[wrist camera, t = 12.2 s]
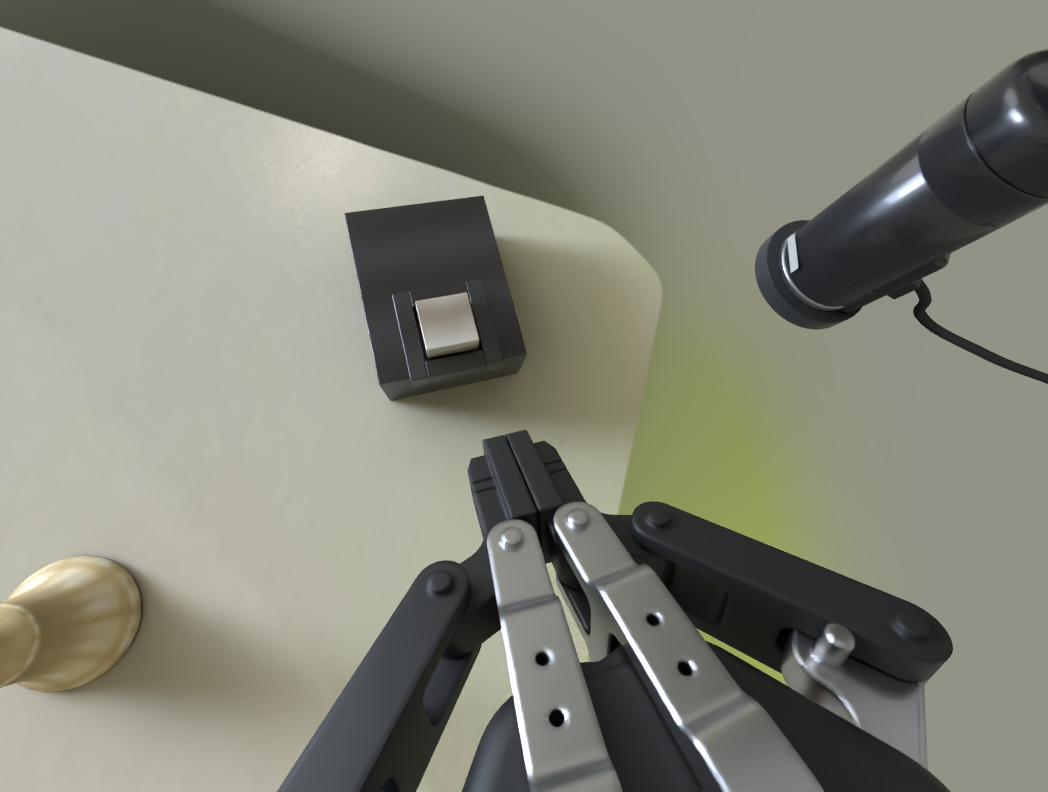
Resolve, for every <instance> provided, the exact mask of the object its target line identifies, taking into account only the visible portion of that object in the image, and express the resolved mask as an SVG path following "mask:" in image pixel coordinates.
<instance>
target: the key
mask: <svg viewBox="0 0 1048 792" xmlns="http://www.w3.org/2000/svg"><path fill="white" fill-rule="evenodd" d="M415 304H416V308H417V313H418V317H419V322H420V326H421V331H422V335H423V339H424V344H425V348H426V352H427V357H428V358H433V357H438V356H443V355H448V354H453V353H458V352H463V351H468V350H473V349H478V345H479V336H478V332H477V328H476V324H475V321H474V317H473V313H472V309H471V305H470V301H469V297H468V293H461V294H455V295H449V296H443V297H437V298H431V299H426V300H420V301H416V302H415Z"/></svg>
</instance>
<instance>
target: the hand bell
mask: <svg viewBox="0 0 1048 792" xmlns="http://www.w3.org/2000/svg"><path fill="white" fill-rule="evenodd" d="M140 616H141V598H140V594H139V590H138V587H137V586H136V583H135V581H134V579H133V578H132V576H131V575H130V574H129V573H128V572H127V571H126V570H125V569H124V568H122V567H121V566H120V565H118V564H117V563H115V562H113V561H111V560H108V559H105V558H101V557H96V556H77V557H70V558H66V559H62V560H59V561H57V562H54V563H51V564H49V565H47V566H46V567H44V568H42V569H40V570H39V571H37V572H35V573H34V574H33V575H31V576H30V577H29V578H27V579H26V580H25V581H24V582H23V583H22V584H20V585H19V587H18V588H17V589H16V590H15V591H14V592H13V593H12V594H11V596H10V597H9V598H8V600H6V601H3V602H1V603H0V688H1V687H4V686H7V685H11V684H14V683H16V684H18V685H20V686H22V687H25V688H28V689H31V690H36V691H44V692H57V691H65V690H69V689H73V688H77V687H80V686H82V685H84V684H87V683H89V682H91V681H93V680H94V679H96V678H98V677H99V676H101V675H103V674H104V673H105V672H106V671H108V670H109V669H110V668H111V667H112V666H113V665H114V664H115V663H116V662H117V661H118V660H119V659H120V658H121V657H122V656H123V654H124V653H125V652H126V650H127V649H128V648H129V646H130V644H131V643H132V641H133V639H134V637H135V634H136V632H137V630H138V626H139V622H140Z"/></svg>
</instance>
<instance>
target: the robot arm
mask: <svg viewBox="0 0 1048 792" xmlns="http://www.w3.org/2000/svg"><path fill="white" fill-rule="evenodd" d="M1047 204H1048V49H1045V50H1040V51H1035V52H1032V53H1029V54H1026V55H1024V56H1022V57H1021V58H1019V59H1017V60H1015V61H1013V62H1012V63H1010V64H1009V65H1007V66H1006V67H1005V68H1003V69H1002V70H1001V71H999V72H998V73H997V74H996V75H994V76H993V77H992V78H991V79H989V80H988V81H987V82H986V83H984V84H983V85H981V86H980V87H979V88H978V89H976V90H975V91H974V92H973V93H972V94H970V95H969V96H968V97H967V98H966V99H964V100H963V101H962V102H960V103H959V104H958V105H956V106H955V107H954V108H953V109H951V110H950V111H949V112H948V113H946V114H945V115H944V116H943V117H942V118H940V119H939V120H938V121H936V122H935V123H934V124H932V125H931V126H930V127H929V128H928V129H926V130H925V131H924V132H922V133H921V134H920V135H919V136H917V137H916V138H915V139H913V140H912V141H911V142H910V143H908V144H907V145H906V146H905V147H903V148H902V149H901V150H900V151H898V152H897V153H896V154H894V155H893V156H892V157H891V158H890V159H888V160H887V161H886V162H884V163H883V164H882V165H881V166H879V167H878V168H877V169H875V170H874V171H873V172H872V173H870V174H869V175H868V176H866V177H865V178H864V179H863V180H861V181H860V182H859V183H858V184H856V185H855V186H854V187H852V188H851V189H850V190H849V191H847V192H846V193H845V194H844V195H842V196H841V197H840V198H838V199H837V200H836V201H835V202H833V203H832V204H831V205H830V206H828V207H827V208H826V209H824V210H823V211H822V212H821V213H819V214H818V215H817V216H816V217H814V218H813V219H812V220H810V221H809V222H808V223H806V224H805V225H803V226H802V227H801V228H800V229H798V230H796V231H795V232H794V233H792V234H791V235H790V236H789V237H788V238H786V240H785V241H784V242H783V244H782V246H781V248H780V251H779V257H778V263H779V270H780V273H781V276H782V278H783V280H784V282H785V284H786V286H787V287H788V288H789V290H790V291H791V292H792V293H793V294H794V295H795V296H796V297H797V298H798V299H799V300H800V301H802V302H803V303H805V304H806V305H808V306H810V307H813V308H815V309H818V310H823V311H835V310H841V311H843V312H845V313H850V312H852V311H854V310H856V309H858V308H860V307H862V306H864V305H867V304H869V303H871V302H873V301H875V300H877V299H879V298H881V297H883V296H886V295H888V296H889V297H891V298H893V299H896V298H898V297H900V296H903V295H905V294H907V293H909V292H911V291H914V290H915V292H916V293H917V295H918V297H919V302H918V304H917V305H916V306H915V307H914V310H913V312H914V316H915V317H916V319H917V320H918V321H919V322H920V323H921V325H923V326H924V327H925V328H926V329H928V330H929V331H930V332H932V333H934V334H935V335H937V336H939V337H940V338H942V339H944V340H946V341H948V342H950V343H952V344H954V345H956V346H958V347H961V348H963V349H965V350H967V351H969V352H971V353H973V354H975V355H977V356H979V357H981V358H983V359H985V360H987V361H989V362H992V363H994V364H996V365H999V366H1001V367H1003V368H1006V369H1008V370H1011V371H1014V372H1016V373H1019V374H1022V375H1025V376H1028V377H1031V378H1033V379H1036V380H1039V381H1042V382H1044V383H1047V384H1048V374H1046V373H1043V372H1040V371H1037V370H1035V369H1032V368H1029V367H1026V366H1024V365H1021V364H1018V363H1015V362H1013V361H1011V360H1008V359H1006V358H1003V357H1002V356H999V355H997V354H995V353H993V352H990V351H989V350H987V349H985V348H983V347H981V346H979V345H977V344H975V343H972V342H970V341H968V340H966V339H964V338H962V337H960V336H958V335H955V334H954V333H952V332H950V331H948V330H946V329H945V328H943V327H941V326H940V325H938V324H937V323H936V322H934V321H933V320H932V319H931V318H930V317H929V316H928V315H927V313H926V312H925V309H926V308H927V307H928V306H929V305H930V303H931V294H930V291H929V289H928V287H927V286H926V284H925V283H924V282H923V280H922V278H923V277H925V276H927V275H929V274H932V273H934V272H936V271H938V270H940V269H942V268H944V267H945V266H946V265H947V264H948V261H949V258H950V254H951V253H952V252H954V251H956V250H958V249H960V248H962V247H964V246H966V245H968V244H970V243H972V242H974V241H976V240H978V239H980V238H981V237H984V236H986V235H988V234H989V233H992V232H994V231H996V230H997V229H1000V228H1002V227H1004V226H1006V225H1007V224H1009V223H1012V222H1013V221H1015V220H1017V219H1019V218H1021V217H1023V216H1025V215H1027V214H1029V213H1031V212H1033V211H1035V210H1037V209H1039V208H1041V207H1043V206H1045V205H1047ZM483 449H484V456H480V457H476V458H472V459H471V461H470V464H469V468H468V475H469V480H470V486H471V491H472V496H473V502H474V506H475V509H476V513H477V517H478V521H479V524H480V528H481V532H482V536H483V542H482V545H481V546H480V548H479V549H478V550H477V552H476V553H475V554H473V555H472V556H471V557H469V558H468V559H466V560H465V561H463V562H462V563H460V564H459V563H456V562H454V561H446V560H445V561H439V562H435V563H433V564H431V565H429V566H427V567H426V568H425V569H424V570H423V571H422V572H421V573H420V574H419V575H418V576H417V578H416V580H415V581H414V583H413V584H412V586H411V587H410V589H409V590H408V592H407V593H406V595H405V596H404V598H403V599H402V601H401V602H400V604H399V606H398V607H397V609H396V610H395V612H394V613H393V615H392V616H391V618H390V619H389V621H388V622H387V624H386V625H385V627H384V629H383V630H382V632H381V633H380V635H379V636H378V638H377V639H376V641H375V642H374V644H373V645H372V647H371V648H370V650H369V651H368V653H367V655H366V656H365V658H364V659H363V661H362V662H361V664H360V665H359V667H358V668H357V670H356V671H355V673H354V674H353V676H352V677H351V679H350V681H349V682H348V684H347V685H346V687H345V688H344V690H343V691H342V693H341V694H340V696H339V697H338V699H337V700H336V702H335V703H334V705H333V707H332V708H331V710H330V711H329V713H328V714H327V716H326V717H325V719H324V720H323V722H322V723H321V725H320V726H319V728H318V730H317V731H316V733H315V734H314V736H313V737H312V739H311V740H310V742H309V743H308V745H307V746H306V748H305V749H304V751H303V752H302V754H301V756H300V757H299V759H298V760H297V762H296V763H295V765H294V766H293V768H292V769H291V771H290V772H289V774H288V775H287V777H286V778H285V780H284V782H283V783H282V785H281V786H280V788H279V789H278V791H277V792H416V790H417V788H418V786H419V784H420V782H421V779H422V777H423V775H424V773H425V771H426V768H427V766H428V764H429V762H430V759H431V757H432V755H433V753H434V751H435V748H436V746H437V744H438V742H439V740H440V737H441V735H442V733H443V731H444V729H445V726H446V724H447V722H448V720H449V717H450V715H451V713H452V711H453V709H454V706H455V704H456V702H457V700H458V698H459V695H460V693H461V691H462V689H463V687H464V684H465V682H466V680H467V678H468V676H469V673H470V671H471V669H472V667H473V664H474V662H475V660H476V658H477V656H478V653H479V651H480V648H481V645H482V643H483V642H484V641H486V640H487V639H488V638H490V637H491V636H492V635H493V634H495V633H496V632H497V631H499V630H500V629H501V628H502V634H503V640H504V646H505V651H506V657H507V663H508V668H509V674H510V680H511V686H512V691H513V695H512V696H511V697H510V698H509V699H508V700H507V701H506V702H505V703H504V704H503V705H502V706H501V707H500V708H499V709H498V711H497V712H496V713H495V714H494V716H493V717H492V719H491V720H490V722H489V724H488V725H487V727H486V729H485V731H484V733H483V735H482V737H481V740H480V742H479V745H478V748H477V751H476V753H475V756H474V759H473V762H472V765H471V768H470V770H469V773H468V776H467V779H466V782H465V784H464V787H463V790H462V792H950V791H949V790H948V789H947V788H946V786H944V785H943V783H941V782H940V781H939V780H938V779H937V778H936V777H935V776H934V775H933V774H931V773H930V772H929V771H928V766H927V742H926V718H925V717H926V716H925V691H924V685H925V683H926V682H927V681H928V680H929V679H930V678H931V677H932V676H933V674H935V672H936V671H937V670H938V669H939V668H940V667H941V666H942V665H943V664H944V663H945V662H946V661H947V659H948V658H949V657H950V656H951V654H952V651H953V645H952V641H951V638H950V636H949V634H948V633H947V631H946V630H945V628H944V627H943V626H942V625H941V624H940V623H939V622H938V621H937V620H936V619H935V618H934V617H933V616H932V615H930V614H929V613H928V612H926V611H925V610H923V609H922V608H920V607H918V606H917V605H915V604H912V603H910V602H908V601H905V600H903V599H900V598H898V597H895V596H893V595H890V594H888V593H885V592H883V591H881V590H878V589H875V588H873V587H870V586H868V585H866V584H863V583H861V582H858V581H856V580H853V579H851V578H848V577H846V576H843V575H841V574H838V573H836V572H834V571H831V570H829V569H826V568H824V567H821V566H819V565H816V564H814V563H811V562H809V561H806V560H804V559H801V558H799V557H796V556H794V555H791V554H789V553H787V552H784V551H782V550H779V549H776V548H774V547H772V546H769V545H766V544H764V543H762V542H759V541H757V540H754V539H752V538H749V537H747V536H744V535H742V534H739V533H737V532H735V531H732V530H730V529H727V528H725V527H722V526H720V525H717V524H715V523H712V522H710V521H707V520H704V519H702V518H700V517H697V516H694V515H692V514H690V513H687V512H685V511H683V510H680V509H677V508H675V507H673V506H670V505H668V504H665V503H662V502H645V503H642V504H640V505H639V506H638V507H636V508H635V510H634V512H633V515H608V514H604V513H601V512H599V511H598V510H597V509H596V508H595V507H594V506H592V505H590V504H588V503H586V501H585V500H584V498H583V496H582V494H581V493H580V491H579V489H578V487H577V486H576V484H575V482H574V480H573V479H572V477H571V475H570V473H569V472H568V470H567V469H566V466H565V465H564V463H563V461H562V460H561V457H560V456H559V454H558V452H557V450H556V449H555V448H554V447H553V446H551V445H550V444H548V443H547V442H545V441H541V442H537V443H533V442H532V440H531V438H530V436H529V434H528V432H527V430H523V431H518V432H514V433H510V434H506V435H505V436H504V435H502V436H498V437H494V438H489V439H485V440H483ZM550 562H552V564H553V566H554V568H555V571H556V581H557V585H558V588H559V590H560V592H561V594H562V596H563V598H564V600H565V602H566V604H567V606H568V608H569V610H570V612H571V614H572V616H573V618H574V620H575V622H576V624H577V626H578V628H579V630H580V632H581V634H582V636H583V638H584V640H585V643H586V645H587V648H588V651H589V655H590V659H591V662H583V663H580V662H579V659H578V656H577V652H576V649H575V646H574V643H573V639H572V636H571V633H570V630H569V626H568V623H567V620H566V617H565V614H564V610H563V607H562V604H561V601H560V599H559V597H558V596H556V595H555V593H554V590H553V587H552V583H551V580H550V577H549V573H548V570H547V567H546V563H550ZM695 627H696V628H698V629H699V630H701V631H703V632H705V633H707V634H709V635H711V636H712V637H714V638H716V639H718V640H720V641H722V642H724V643H726V644H727V645H729V646H731V647H733V648H735V649H737V650H738V651H740V652H742V653H744V654H746V655H748V656H750V657H752V658H753V659H755V660H757V661H759V662H761V663H763V664H765V665H767V666H768V667H770V668H772V669H774V670H776V671H778V672H780V673H781V674H782V675H783V677H784V680H785V682H786V683H787V685H788V686H789V687H788V686H786V685H784V684H783V683H781V682H779V681H778V680H776V679H774V678H773V677H771V676H769V675H767V674H766V673H764V672H762V671H760V670H759V669H757V668H755V667H754V666H752V665H750V664H748V663H747V662H745V661H743V660H742V659H740V658H738V657H736V656H735V655H733V654H731V653H729V652H728V651H726V650H724V649H722V648H721V647H719V646H717V645H714V644H712V643H710V642H707V641H705V640H704V639H703V637H702V636H701V634H700V633H699V632H698V630H697V629H696V628H695Z"/></svg>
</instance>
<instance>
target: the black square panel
mask: <svg viewBox="0 0 1048 792" xmlns="http://www.w3.org/2000/svg"><path fill="white" fill-rule="evenodd" d="M345 219H346V224H347V229H348V234H349V239H350V244H351V249H352V254H353V259H354V263H355V268H356V273H357V278H358V283H359V288H360V293H361V298H362V303H363V308H364V313H365V318H366V322H367V327H368V332H369V337H370V342H371V347H372V352H373V357H374V362H375V367H376V372H377V377H378V381H379V385H380V386H381V388H382V389H383V391H384V392H385V394H386V395H387V397H388V398H389V400H390V401H391V400H396V399H400V398H405V397H410V396H414V395H419V394H423V393H428V392H433V391H437V390H442V389H447V388H451V387H456V386H461V385H465V384H470V383H475V382H479V381H484V380H489V379H493V378H498V377H502V376H507V375H512V374H516V373H518V371H519V369H520V367H521V365H522V363H523V361H524V359H525V357H526V355H527V352H526V349H525V345H524V341H523V338H522V334H521V330H520V327H519V323H518V319H517V316H516V312H515V309H514V305H513V301H512V298H511V294H510V290H509V287H508V283H507V280H506V276H505V272H504V269H503V265H502V261H501V258H500V254H499V251H498V247H497V243H496V240H495V236H494V232H493V229H492V225H491V222H490V218H489V214H488V211H487V207H486V203H485V200H484V196H477V197H469V198H462V199H454V200H446V201H438V202H430V203H422V204H414V205H406V206H398V207H390V208H382V209H375V210H367V211H359V212H351V213H345ZM461 293H468V297H469V301H470V305H471V309H472V313H473V317H474V321H475V324H476V328H477V332H478V336H479V345H478V349H473V350H468V351H463V352H458V353H453V354H448V355H443V356H438V357H433V358H428V357H427V352H426V348H425V344H424V339H423V335H422V331H421V326H420V322H419V317H418V313H417V308H416V304H415V302H416V301H420V300H426V299H431V298H437V297H443V296H449V295H455V294H461Z"/></svg>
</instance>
